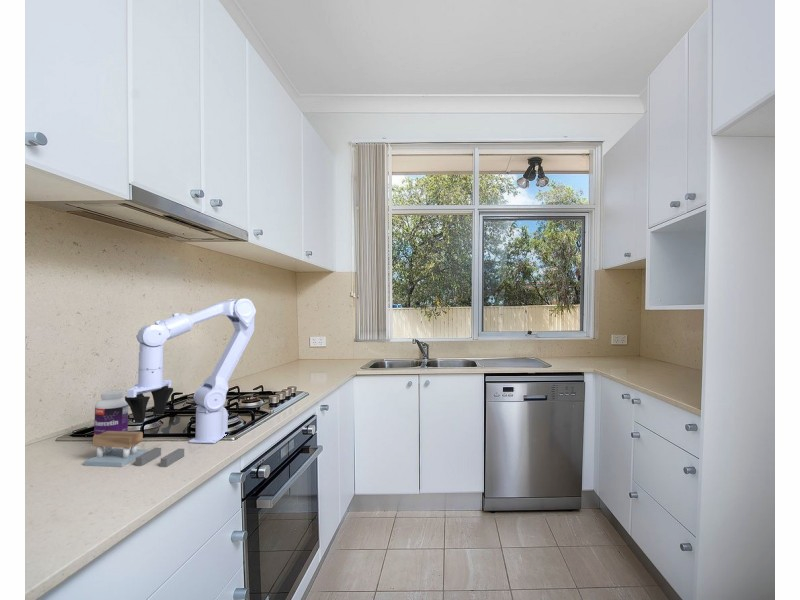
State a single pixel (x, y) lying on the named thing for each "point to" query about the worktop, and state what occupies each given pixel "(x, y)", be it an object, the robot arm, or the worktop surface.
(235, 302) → the robot arm
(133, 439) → the shelf board
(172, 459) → the board rack
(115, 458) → the peg base
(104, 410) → the pill bottle
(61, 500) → the worktop surface
